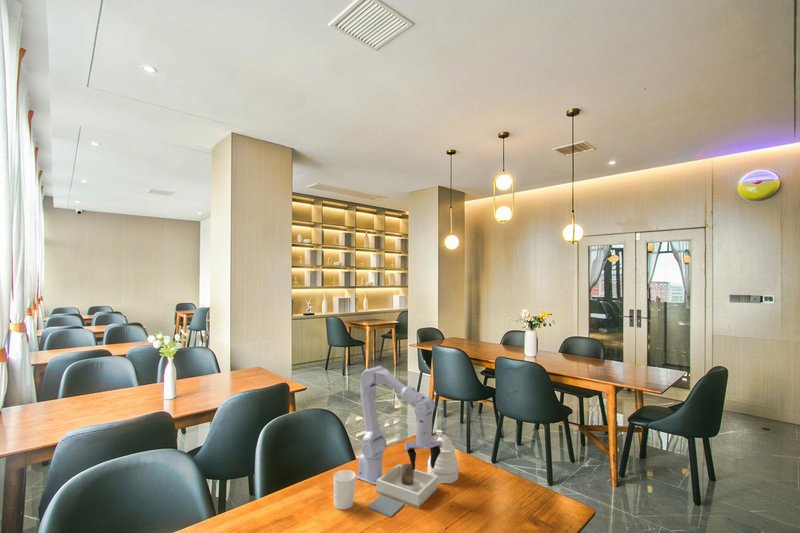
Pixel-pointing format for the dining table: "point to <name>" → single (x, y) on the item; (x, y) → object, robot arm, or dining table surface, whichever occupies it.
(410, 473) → the walnut cylinder
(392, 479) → the grey crate
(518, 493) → the dining table surface
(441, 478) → the honey pot
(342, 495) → the white cup
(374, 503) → the slate pad
